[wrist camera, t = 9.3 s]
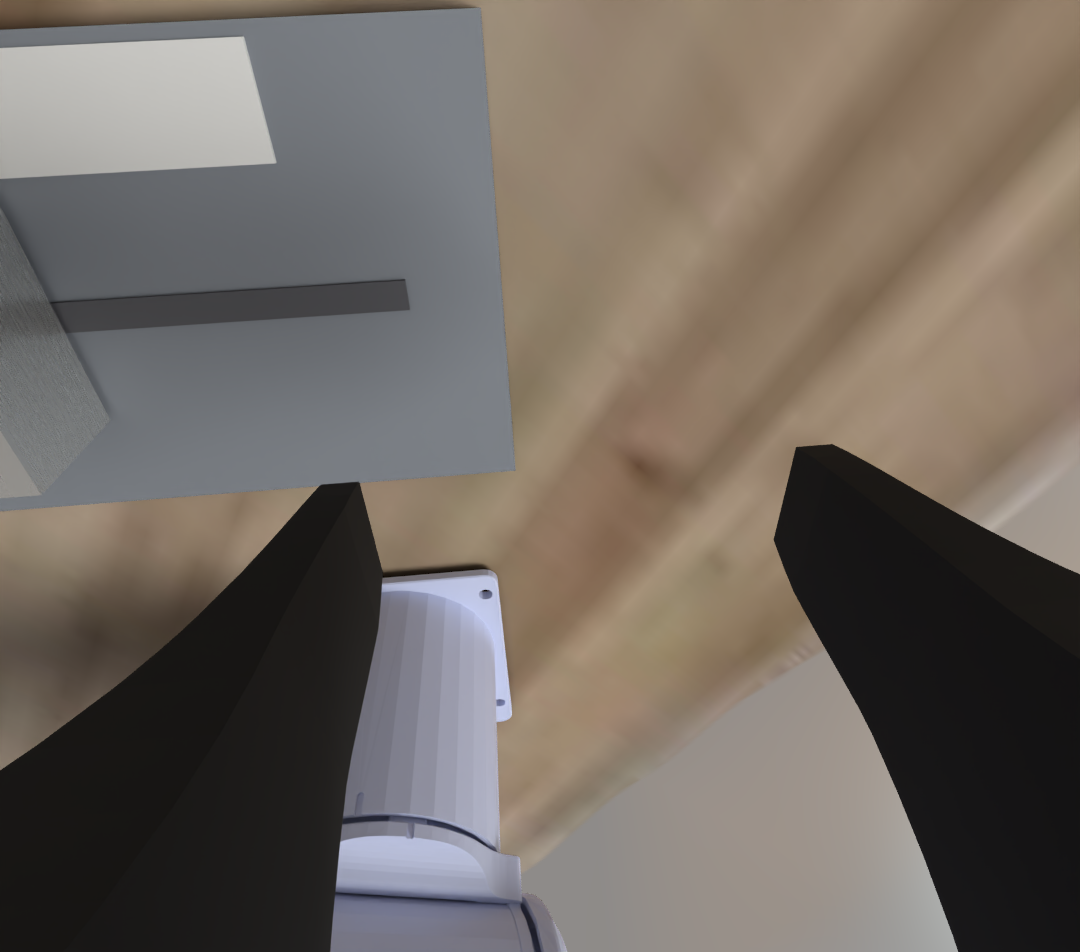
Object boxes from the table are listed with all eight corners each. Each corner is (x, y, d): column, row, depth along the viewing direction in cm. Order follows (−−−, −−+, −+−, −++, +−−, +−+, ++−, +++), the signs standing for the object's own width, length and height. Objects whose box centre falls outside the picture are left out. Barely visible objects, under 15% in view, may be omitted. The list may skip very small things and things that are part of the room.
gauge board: (514, 453, 21) (523, 555, 17) (-235, 511, 20) (-415, 635, 16) (480, 8, 14) (482, 1, 10) (-680, 62, 13) (-1206, 79, 9)
